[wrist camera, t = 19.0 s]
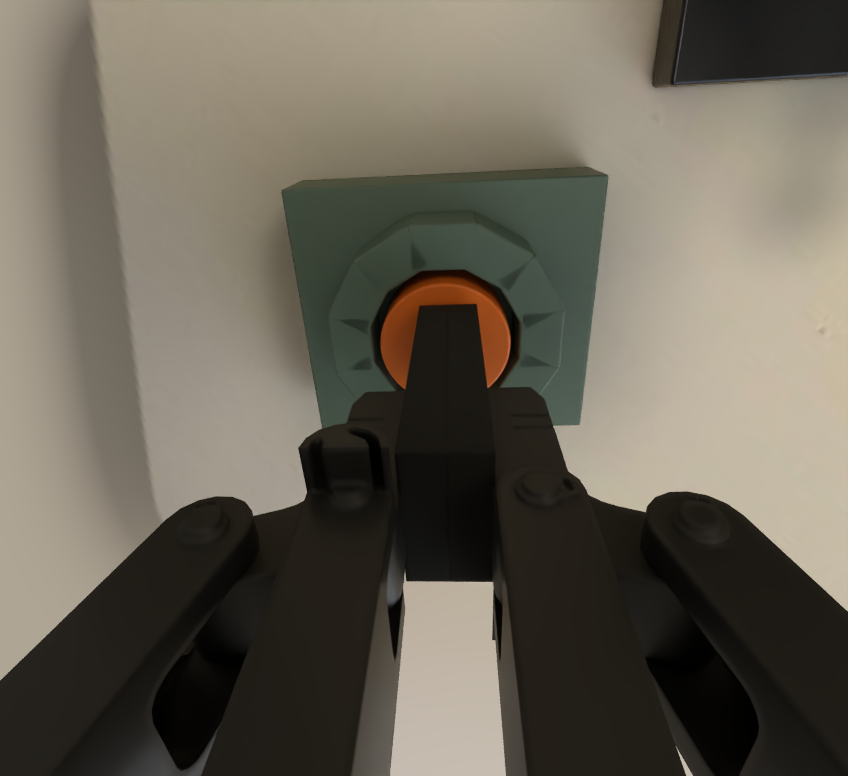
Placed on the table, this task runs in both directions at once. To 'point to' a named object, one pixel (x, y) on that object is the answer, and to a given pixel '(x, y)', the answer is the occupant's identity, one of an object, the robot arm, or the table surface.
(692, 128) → the table surface
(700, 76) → the bracket
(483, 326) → the button
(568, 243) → the control block
